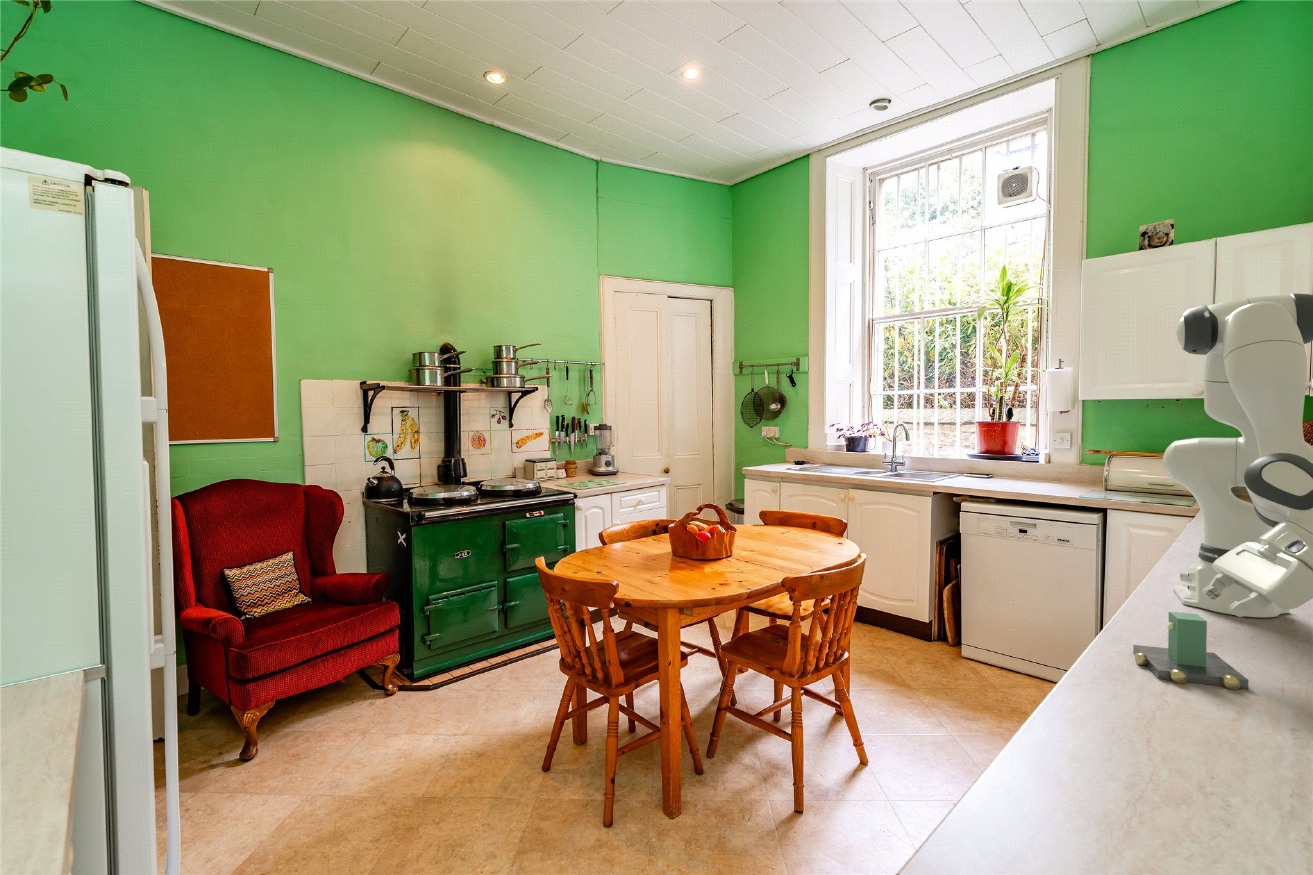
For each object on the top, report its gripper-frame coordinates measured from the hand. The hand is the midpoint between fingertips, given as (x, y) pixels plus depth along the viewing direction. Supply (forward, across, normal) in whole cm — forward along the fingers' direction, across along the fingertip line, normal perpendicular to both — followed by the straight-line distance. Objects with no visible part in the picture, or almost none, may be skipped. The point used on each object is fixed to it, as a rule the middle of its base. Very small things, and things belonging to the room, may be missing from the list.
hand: (1219, 603), depth 106 cm
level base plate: (+12, 0, +5) cm, 13 cm away
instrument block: (+11, 0, +4) cm, 12 cm away
